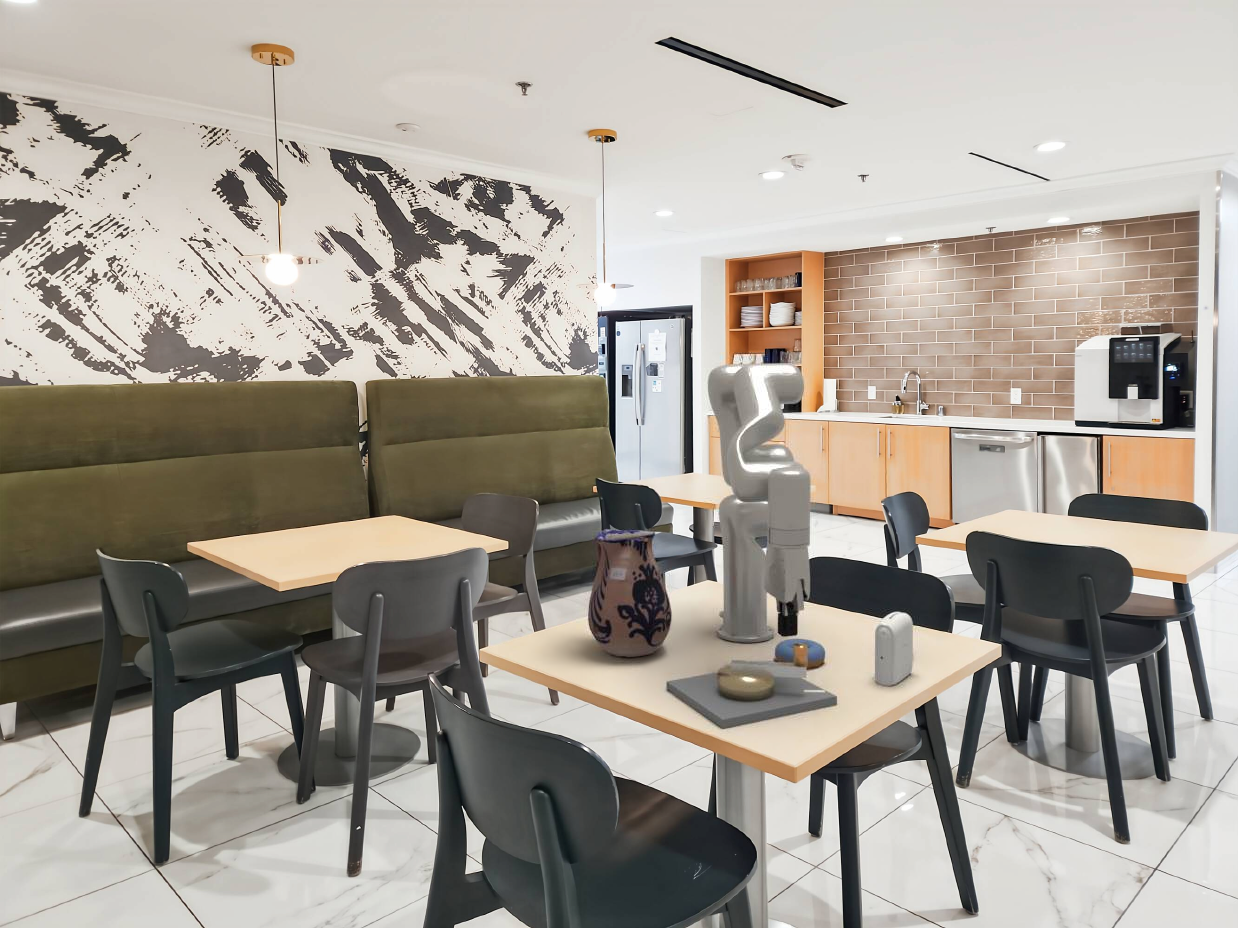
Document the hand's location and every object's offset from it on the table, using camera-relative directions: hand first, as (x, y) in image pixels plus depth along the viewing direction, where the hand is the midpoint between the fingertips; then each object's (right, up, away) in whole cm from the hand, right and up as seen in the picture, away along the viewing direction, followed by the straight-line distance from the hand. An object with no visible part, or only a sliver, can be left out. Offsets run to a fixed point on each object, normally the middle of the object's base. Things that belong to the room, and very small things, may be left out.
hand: (787, 634), depth 156 cm
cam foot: (-5, -9, -5) cm, 12 cm away
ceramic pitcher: (-29, -8, +26) cm, 40 cm away
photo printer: (+21, -10, +6) cm, 24 cm away
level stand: (-7, -11, -3) cm, 13 cm away
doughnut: (+6, -9, +16) cm, 19 cm away
